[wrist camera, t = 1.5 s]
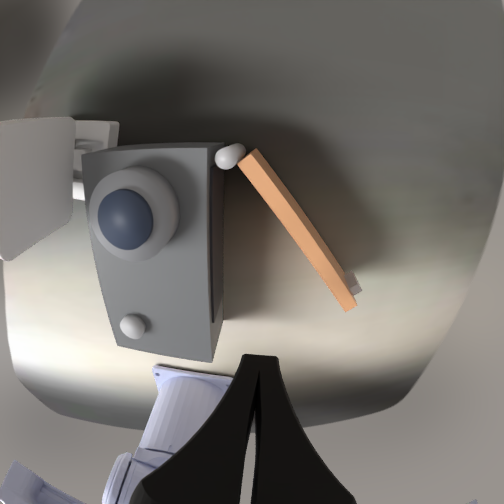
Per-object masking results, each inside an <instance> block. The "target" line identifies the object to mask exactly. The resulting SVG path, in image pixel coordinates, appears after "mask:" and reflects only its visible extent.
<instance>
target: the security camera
mask: <svg viewBox="0 0 504 504" xmlns="http://www.w3.org/2000/svg"><path fill="white" fill-rule="evenodd" d="M118 133H119V123H118V122H117V121H95V120H74V119H73V118H72V117H45V118H29V119H17V120H8V121H2V122H0V259H2V260H4V261H11V260H13V259H14V258H16V257H17V256H19V255H20V254H21V253H23V252H24V251H26V250H27V249H29V248H30V247H32V246H33V245H35V244H36V243H38V242H39V241H41V240H42V239H44V238H45V237H47V236H48V235H50V234H51V233H53V232H54V231H56V230H58V229H59V228H61V227H62V226H64V225H66V224H67V223H68V222H69V221H70V219H71V216H72V213H73V198H75V199H80V200H85V197H84V187H83V176H82V161H81V154H85V153H90V152H94V151H98V150H103V149H107V148H112V147H117V141H118Z"/></svg>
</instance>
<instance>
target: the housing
mask: <svg viewBox="0 0 504 504" xmlns="http://www.w3.org/2000/svg"><path fill="white" fill-rule="evenodd" d="M222 148H225V143H221V142H181V143H152V144H135V145H122V146H117V147H112V148H107V149H103V150H98V151H94V152H90V153H85V154H81V161H82V176H83V187H84V197H85V205H86V213H87V220H88V227H89V233H90V239H91V244H92V250H93V255H94V260H95V265H96V269H97V274H98V278H99V283H100V287H101V291H102V295H103V299H104V302H105V306H106V310H107V313H108V317H109V320H110V324H111V327H112V330H113V333H114V337H115V340H116V343H117V346H121V347H125V348H130V349H134V350H139V351H144V352H149V353H154V354H159V355H164V356H170V357H176V358H182V359H188V360H194V361H201V362H208V363H212V361H213V358H214V354H215V350H216V346H217V342H218V338H219V334H220V331H221V327H222V323H223V215H224V169H221V168H220V167H218V166H217V164H216V162H215V155H216V153H217V152H218V151H219V150H220V149H222Z"/></svg>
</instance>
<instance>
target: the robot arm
mask: <svg viewBox="0 0 504 504" xmlns="http://www.w3.org/2000/svg"><path fill="white" fill-rule="evenodd" d="M152 371H153V375H154V378H155V381H156V384H157V388H158V391H159V394H158V397H157V399H156V402H155V404H154V407H153V410H152V412H151V415H150V417H149V420H148V423H147V425H146V428H145V431H144V434H143V436H142V439H141V442H140V444H139V447H137V449H136V452H135V455H134V457H133V458H132V454H131V453H129V452H125V454H121V455H119V456H118V457H117V459H116V461H115V463H114V466H113V468H112V471H111V473H110V476H109V478H108V481H107V484H106V487H105V491H104V494H103V499H102V504H239V503H240V495H241V486H242V477H243V469H244V461H245V454H246V449H247V444H248V440H249V435H250V431H251V426H252V421H253V416H254V411H255V434H256V455H255V468H254V478H253V488H252V497H251V504H357V503H356V501H355V498H354V497H353V495H352V494H351V493H350V492H349V491H348V490H347V489H346V488H345V487H344V486H343V485H342V484H341V483H340V482H339V481H338V479H337V478H336V477H335V476H334V475H333V473H332V472H331V471H330V470H329V469H328V467H327V466H326V465H325V463H324V462H323V460H322V459H321V458H320V456H319V455H318V453H317V452H316V451H315V449H314V447H313V446H312V444H311V443H310V441H309V439H308V437H307V436H306V434H305V432H304V430H303V428H302V426H301V424H300V422H299V420H298V418H297V416H296V414H295V412H294V409H293V407H292V405H291V402H290V399H289V397H288V394H287V391H286V388H285V385H284V382H283V379H282V375H281V371H280V366H279V359H278V358H277V357H276V356H265V355H253V354H244V355H242V358H241V362H240V364H239V367H238V369H237V372H236V374H235V376H234V378H232V377H227V376H219V375H211V374H204V373H197V372H191V371H185V370H179V369H173V368H168V367H163V366H158V365H155V366H153V368H152ZM0 500H1V502H3V503H4V504H86V503H84V502H81V501H79V500H77V499H76V498H74V497H72V496H70V495H68V494H66V493H64V492H62V491H61V490H59V489H57V488H56V487H54V486H52V485H51V484H49V483H47V482H46V481H44V480H43V479H42V478H41V477H39V476H38V475H36V474H35V473H34V472H32V471H31V470H29V469H28V468H26V467H25V466H23V465H22V464H21V463H19V462H18V461H16V460H14V461H13V462H12V464H11V466H10V468H9V470H8V473H7V475H6V477H5V479H4V481H3V483H2V485H1V487H0ZM467 504H478V503H477V500H476V499H475V500H473V501H471V502H469V503H467Z"/></svg>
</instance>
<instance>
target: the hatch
mask: <svg viewBox="0 0 504 504" xmlns="http://www.w3.org/2000/svg"><path fill="white" fill-rule="evenodd" d="M245 154H246V149H245V147H244V146H243V145H242V144H240V143H235V144H232V145H230V146H227V147H225V148H222V149H220V150H219V151H218V152H217V153H216V155H215V162H216V164H217V166H218V167H220V168H221V169H230V168H232V167H234V166H235V165H236V164H237V165H238V166H239V168H240V169H241V170H242V171H243V173H244V174H245V175H246V176H247V178H248V179H249V180H250V182H251V183H252V184H253V185H254V187H255V188H256V189H257V191H258V192H259V193H260V195H261V196H262V197H263V198H264V200H265V201H266V202H267V204H268V205H269V206H270V208H271V209H272V210H273V212H274V213H275V214H276V216H277V217H278V218H279V220H280V221H281V222H282V224H283V225H284V226H285V228H286V229H287V230H288V232H289V233H290V235H291V236H292V237H293V239H294V240H295V241H296V243H297V244H298V245H299V247H300V248H301V250H302V251H303V252H304V254H305V255H306V257H307V258H308V259H309V261H310V262H311V263H312V265H313V266H314V268H315V269H316V271H317V272H318V273H319V275H320V276H321V278H322V279H323V280H324V282H325V283H326V285H327V286H328V288H329V289H330V290H331V292H332V293H333V295H334V296H335V298H336V299H337V301H338V302H339V303H340V305H341V306H342V308H343V309H344V311H345V312H346V311H348V310H350V309H352V308H353V307H355V306H357V303H356V300H355V298H354V295H355V294H357V293H359V292H361V291H362V289H361V287H360V285H359V283H358V280H357V278H356V276H355V275H354V273H353V271H350V272H349V273H347V274H345V273H344V271H343V270H342V268H341V267H340V265H339V264H338V262H337V261H336V259H335V258H334V256H333V254H332V253H331V251H330V250H329V248H328V247H327V245H326V244H325V242H324V241H323V239H322V238H321V236H320V235H319V234H318V232H317V231H316V229H315V228H314V226H313V225H312V223H311V222H310V220H309V219H308V218H307V216H306V215H305V213H304V212H303V210H302V209H301V208H300V206H299V205H298V203H297V202H296V201H295V199H294V198H293V196H292V195H291V194H290V192H289V191H288V189H287V188H286V187H285V185H284V184H283V183H282V181H281V180H280V179H279V177H278V176H277V175H276V173H275V172H274V171H273V169H272V168H271V167H270V165H269V164H268V163H267V161H266V160H265V159H264V157H263V156H262V155H261V153H260V152H259V151H258V150H257V148H256V149H254V150H253V151H252V152H250V153H249V154H247V155H246V156H245ZM244 156H245V157H244ZM243 157H244V158H243ZM242 158H243V159H242ZM241 159H242V160H241ZM240 160H241V161H240Z"/></svg>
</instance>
